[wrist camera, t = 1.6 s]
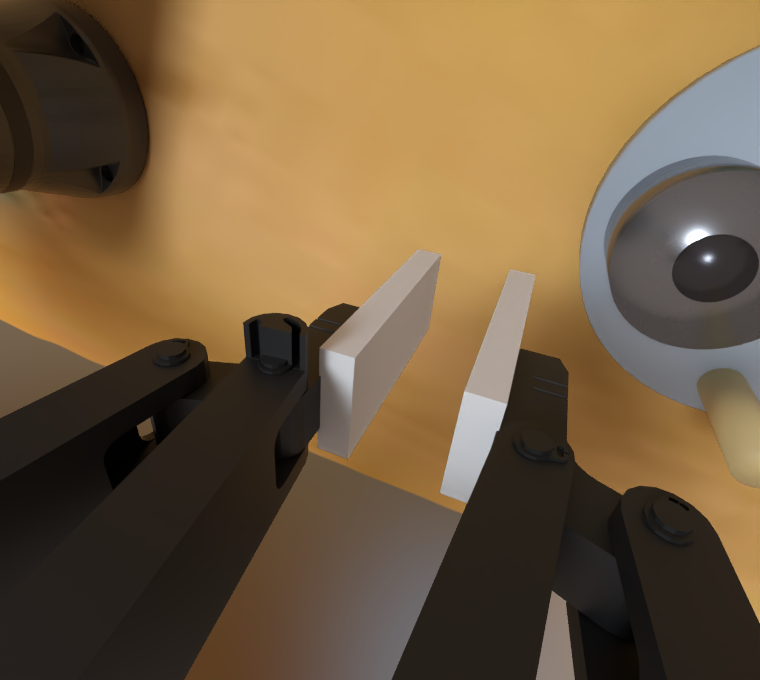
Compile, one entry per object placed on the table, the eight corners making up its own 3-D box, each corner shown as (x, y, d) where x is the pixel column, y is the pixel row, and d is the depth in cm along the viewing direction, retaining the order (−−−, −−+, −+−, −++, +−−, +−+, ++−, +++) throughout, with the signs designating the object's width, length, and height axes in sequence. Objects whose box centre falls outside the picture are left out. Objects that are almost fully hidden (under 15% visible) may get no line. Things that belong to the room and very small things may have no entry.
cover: (583, 288, 26) (585, 326, 22) (636, 144, 22) (651, 156, 18) (736, 322, 24) (770, 371, 20) (827, 169, 20) (896, 190, 16)
